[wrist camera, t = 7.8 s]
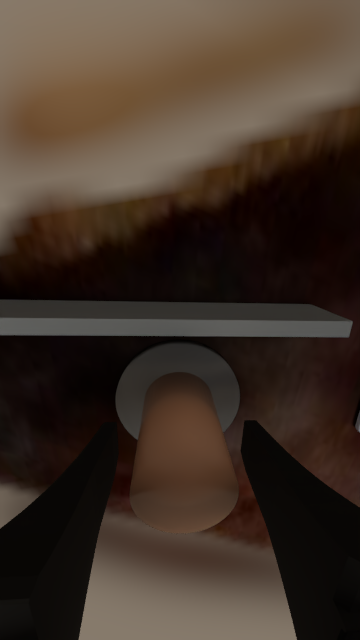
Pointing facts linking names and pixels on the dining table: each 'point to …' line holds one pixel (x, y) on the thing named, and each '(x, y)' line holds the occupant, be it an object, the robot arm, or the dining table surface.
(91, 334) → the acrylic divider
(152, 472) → the terracotta cylinder
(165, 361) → the slate coaster
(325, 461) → the dining table surface
